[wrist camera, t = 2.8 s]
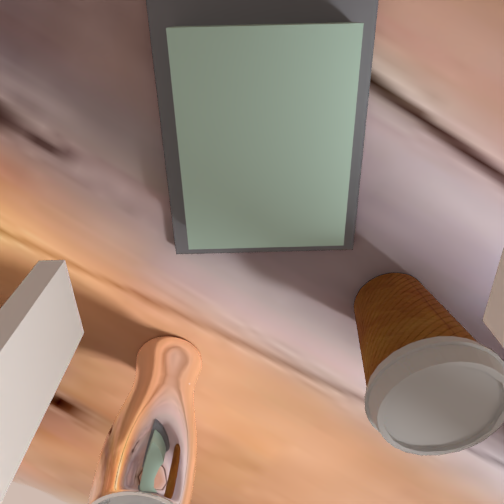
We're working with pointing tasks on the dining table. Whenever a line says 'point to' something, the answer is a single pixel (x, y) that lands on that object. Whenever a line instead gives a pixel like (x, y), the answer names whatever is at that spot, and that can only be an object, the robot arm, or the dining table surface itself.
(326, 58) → the board
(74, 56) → the dining table surface
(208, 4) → the rubber mat
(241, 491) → the dining table surface
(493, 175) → the dining table surface
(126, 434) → the beer glass
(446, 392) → the disposable coffee cup
